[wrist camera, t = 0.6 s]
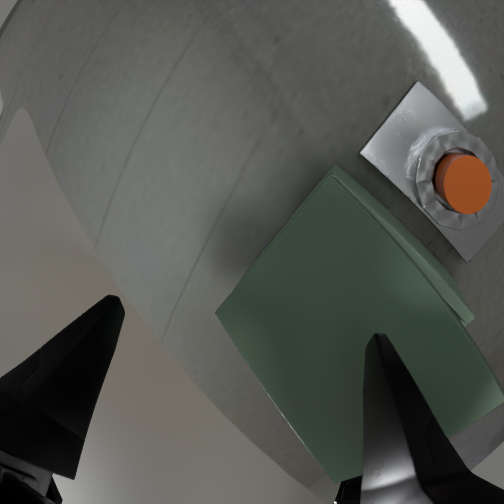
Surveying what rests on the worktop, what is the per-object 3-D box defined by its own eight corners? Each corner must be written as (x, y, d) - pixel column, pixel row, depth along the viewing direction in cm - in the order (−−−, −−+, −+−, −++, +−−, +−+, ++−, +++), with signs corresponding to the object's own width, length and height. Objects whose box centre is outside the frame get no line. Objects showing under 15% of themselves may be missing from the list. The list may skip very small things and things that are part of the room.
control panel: (513, 197, 15) (531, 207, 13) (462, 257, 19) (474, 274, 16) (413, 82, 15) (424, 75, 13) (358, 152, 19) (360, 155, 16)
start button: (489, 180, 14) (500, 185, 12) (458, 217, 16) (467, 226, 14) (456, 141, 14) (467, 142, 12) (425, 180, 16) (432, 185, 14)
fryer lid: (505, 393, 8) (507, 400, 8) (339, 476, 14) (333, 483, 13) (335, 176, 14) (328, 173, 14) (222, 310, 20) (214, 312, 19)
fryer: (453, 277, 20) (475, 317, 15) (358, 356, 25) (356, 403, 20) (334, 162, 20) (332, 174, 14) (246, 270, 25) (221, 307, 20)
